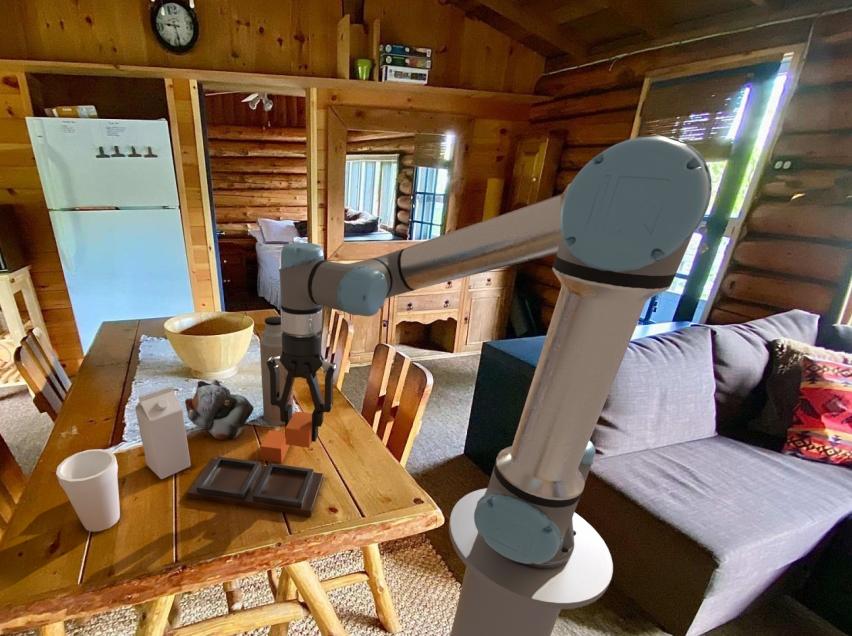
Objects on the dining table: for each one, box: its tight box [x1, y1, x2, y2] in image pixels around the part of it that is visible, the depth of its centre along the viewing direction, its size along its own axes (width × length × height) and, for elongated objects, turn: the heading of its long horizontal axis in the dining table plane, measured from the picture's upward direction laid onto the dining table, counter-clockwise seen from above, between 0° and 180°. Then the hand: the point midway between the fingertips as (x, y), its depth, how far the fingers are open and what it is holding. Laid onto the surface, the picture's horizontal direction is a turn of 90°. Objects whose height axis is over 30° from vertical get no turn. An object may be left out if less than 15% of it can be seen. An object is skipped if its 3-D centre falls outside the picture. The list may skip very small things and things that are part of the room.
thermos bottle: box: [259, 316, 294, 426], centre depth 113 cm, size 8×8×28 cm
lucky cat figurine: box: [184, 379, 255, 441], centre depth 112 cm, size 15×12×14 cm
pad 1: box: [259, 429, 290, 464], centre depth 104 cm, size 5×7×4 cm
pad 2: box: [284, 411, 313, 449], centre depth 91 cm, size 5×7×4 cm
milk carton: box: [134, 386, 192, 480], centre depth 95 cm, size 7×7×19 cm
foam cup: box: [55, 448, 121, 533], centre depth 81 cm, size 10×9×13 cm
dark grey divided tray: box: [186, 455, 324, 517], centre depth 93 cm, size 26×12×3 cm, turn 80°
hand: (301, 436), depth 92 cm, fingers closed on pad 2, 5 cm apart
